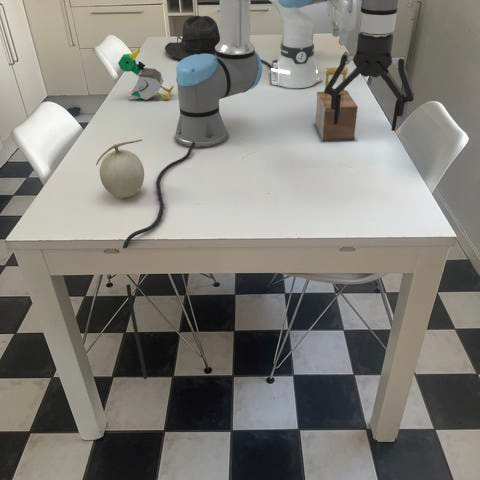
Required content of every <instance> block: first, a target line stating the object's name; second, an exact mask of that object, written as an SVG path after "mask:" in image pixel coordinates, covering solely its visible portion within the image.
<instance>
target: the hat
mask: <svg viewBox="0 0 480 480" xmlns="http://www.w3.org/2000/svg"><path fill="white" fill-rule="evenodd" d="M179 40H180V41H179ZM219 42H220V29H219V26H218V24H217V22H216V20H215V19H214V18H212V17H211V16H208V15H202V16H201V15H191V16H190V17H188V18H186V19H185V20H184V22H183V25H182V36H181V37H180V36H179V35H178V36H177V38H176V42H168V43H167V44H165V46H164V51H165V52H166V54H167V55H168V56H170V57H172V58H175V59H177V60H182V59H184V58H186V57H188V56H191V55H195V54H197V55H199V54H212V55H214V56H215V46H216V45H217V44H218V43H219Z"/></svg>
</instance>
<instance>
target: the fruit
mask: <svg viewBox="0 0 480 480" xmlns="http://www.w3.org/2000/svg"><path fill="white" fill-rule="evenodd" d="M142 141H143V139H137V140H131V141H125V142H120V143H117V144H113V145H112V146H110V147H109V148H108V149H106V150H105V151H104V152H103V153H102V154H101V155H100V156H99V158H98V159H97V160H96V163H95V166H96V167H97V166H98V165H99V163H100V166H99V179H100V181H101V184H102V186H103V188H104V189H105V190H106V192H108V193H109V194H110V195H112V196H113V197H116V198H122V199H123V198H129V197H132V196H134V195H136V194H137V193H138V192H139V191H140V190H141V188H142V186H143V184H144V182H145V181H144V180H145V169H144V165H143V163H142V161H141V159H140V158H139V156H138V155H137V154H136V153H134V152H133V151H130V150H128V149H119V147H122V146H125V145H129V144H134V143H138V142H142ZM113 149H114V151H111V150H113ZM110 151H111V152H110ZM109 152H110V153H109ZM100 161H101V162H100Z"/></svg>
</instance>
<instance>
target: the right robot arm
mask: <svg viewBox="0 0 480 480" xmlns="http://www.w3.org/2000/svg"><path fill="white" fill-rule="evenodd" d="M268 1H269V2H270V3H271V4H272V5H273V6H274V7H275V8H276V10H277V12H278V14H279V16H280V19H281V23H282V24H281V27H282V36H283V43H282V45H281V44H280V45H281V49H280V55H279V56H278V58H277V59H275V60H272V63H271V64H272V65H271V64H270V63H269V62H267V61H266V60H264V59H262V58H260V59H259V60H260V61H261V62H262V64H263V63H264V64H266V65H267V66H268V68H269V69H270V70H271V72H270V76H271V85H272V86H280V87H283V88H287V89H304V88H305V89H306V88H308V87H309V88H310V87H312V86H314V85H315V84H317V83H320V82H321V78H320V77H319V76H318V60H317V58H316V57H315V56H314V53H315V44H314V33H315V32H314V31H315V22H314V20H313V19H312V17H310V15H308V14H307V13H305V12H303V11H301V9H300V8H285V7H283V6H281V5H280V4H279V3H278V0H268ZM324 3H326V5H327V6H326V9H327V16H328V17H329V18H330V19H331V27H332V28H331V29H332V31H331V34H332V36H333V38H334V37H336V38H338V37H339V38H338V44H339V45H340V46H346V45H347V42H348V41H347V40H348V37H349V34H350V32H353V31H354V30H355V28H356V24H357V0H329V1H325V2H319V3H315V4H316V5H318V4H319V5H320V4H324ZM315 4H314V5H315Z"/></svg>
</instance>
